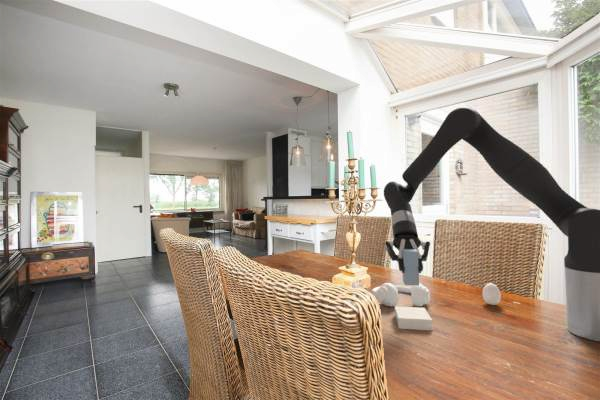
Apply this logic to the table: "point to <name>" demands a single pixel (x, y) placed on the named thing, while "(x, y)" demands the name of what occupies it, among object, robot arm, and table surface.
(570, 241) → the robot arm
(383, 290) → the headphones
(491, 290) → the egg
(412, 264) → the pillar
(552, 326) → the table surface
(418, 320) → the base
